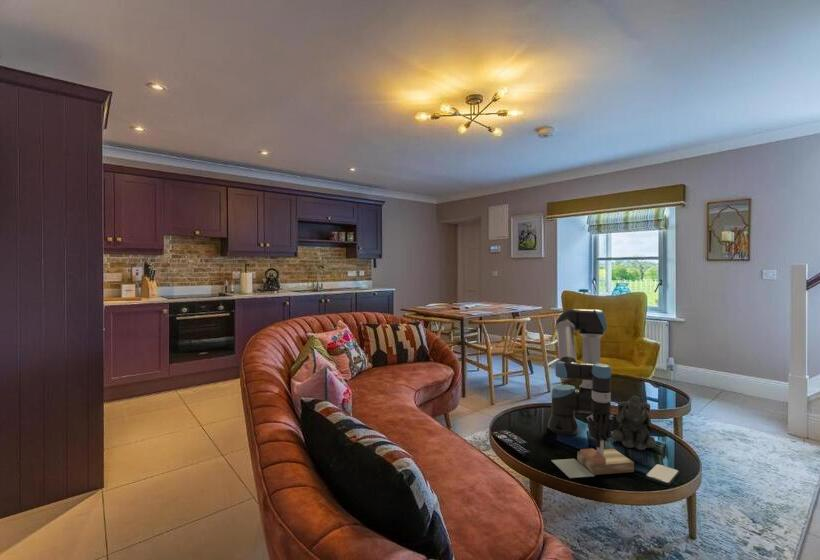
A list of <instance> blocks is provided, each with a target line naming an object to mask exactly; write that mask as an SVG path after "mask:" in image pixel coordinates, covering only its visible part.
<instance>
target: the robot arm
mask: <svg viewBox="0 0 820 560" xmlns="http://www.w3.org/2000/svg"><path fill="white" fill-rule="evenodd" d="M607 325H608V324H607V318H606V316H605V312H604V311H603V310H602V309H595V308H593V309H592V308H591V309H590V308H569V309H567V310H564V311H563V312H562V313H561V314H560V315H559V316H558V318H557V319H556V323H555V330H556V332H557V339H558V358H559V361H558V360H557V361H556V362H555V363H554V365H555V366H554V367H555V369H554V370H555V371H554V373H555V376H556V378H560V379H571V380H582V382H581V384H580V385H579V389H578V388H576V387H575V386H574V385H572V384H558V385H555V386H553V388H552V389H551V394H550V395H551V414H550V417H549V420H548V422H547V429H548V428H549V429H550V430H551V431H552V433H555V434H556V433H557V435H561V436H574V435H577V434H578V433H579V425H578V422H577V420H576V414H575V413H583V414H590V415H587V416H585V419H586V420H587V423H588V424H587V425H588V428H589V429H588V430H589V432H590V437H591V438H592V439H594V441H595V442H594V443H595V447H596V450H597V452H598V453H600V454H601V455H603V456H604V449H605V447H606V442H607V441H608V439H610V438H611V434H612V432H613V430H612V429H613V427H614V426H613V425H614V422H615V420H616V418H617V416H615V415H613V414H611V408H612V407H611V406H612V403H611V400H612V397H611V396H612V367H611V365H609V364H605V363H601V338H602V337H603V336H604V333H606V332H607V329H608V327H607ZM575 331H578V332H579V335H580V336H581V339H582V362H577V354H576V344H575V334H574V333H575ZM549 429H548V430H549ZM550 430H549V431H550ZM551 431H550V432H551Z"/></svg>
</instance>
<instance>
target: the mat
mask: <svg viewBox="0 0 820 560" xmlns="http://www.w3.org/2000/svg"><path fill="white" fill-rule="evenodd" d="M551 462H552V463H553V464H554V465H555V466H556V468H558V469H559V470H560V471H561V472H563V474H564V475H566V477H568V478H569V479H576V478H590V477H595V475H594V474H593V473H592V472H591V471H590V470H588V469H587V468H586V467H585V466H584V465H582V464H581V463H580V462H579V461H578V460H577V459H575V458H565V459H562V458H561V459H551Z"/></svg>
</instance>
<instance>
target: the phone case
mask: <svg viewBox="0 0 820 560" xmlns="http://www.w3.org/2000/svg"><path fill="white" fill-rule="evenodd" d="M679 475H680V471H679V469H676V468H673V467H669V466H666V465H662V464H659V463H657V464H655V465H654V466H653V467H652V468H650V469H649V471H648V472H647V473H646V474H645V479H646V480H648V481H651V482H655V483H657V484H661V485H664V486H666V487H670V486H671V485H672V483H674V481H675V480H676V478H677V477H678V476H679Z"/></svg>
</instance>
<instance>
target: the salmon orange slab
mask: <svg viewBox="0 0 820 560" xmlns="http://www.w3.org/2000/svg"><path fill="white" fill-rule="evenodd" d="M596 450H597V449H595V448H592V447H591V448H582V449H580V450H579V451H580V454H581V455H582V456H584V457H585V458H586V459H588V460H589V461H590V462H591V463H593V464H594V463H606V458H605V457H604V456H603V455H601V454H600V453H598V452H597V451H596Z"/></svg>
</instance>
